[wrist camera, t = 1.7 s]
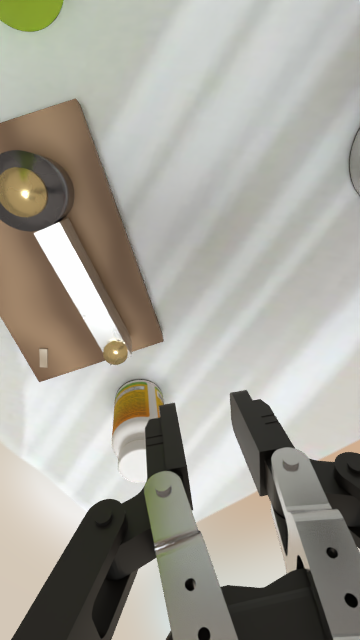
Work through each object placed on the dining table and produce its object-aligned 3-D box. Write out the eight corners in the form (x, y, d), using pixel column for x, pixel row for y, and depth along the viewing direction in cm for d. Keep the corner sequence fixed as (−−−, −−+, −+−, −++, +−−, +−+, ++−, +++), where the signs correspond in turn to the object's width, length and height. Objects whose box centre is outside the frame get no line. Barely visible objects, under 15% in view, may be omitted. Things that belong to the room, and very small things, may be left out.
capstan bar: (-7, 171, 24) (-39, 168, 20) (53, 144, 24) (35, 135, 20) (98, 350, 31) (93, 378, 27) (145, 330, 31) (148, 355, 27)
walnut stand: (80, 104, 25) (75, 97, 23) (162, 332, 34) (163, 342, 32) (-79, 156, 25) (-98, 153, 23) (44, 371, 34) (38, 383, 32)
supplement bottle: (106, 407, 37) (98, 478, 28) (129, 370, 35) (128, 434, 26) (147, 423, 38) (152, 496, 29) (171, 389, 37) (183, 455, 28)
